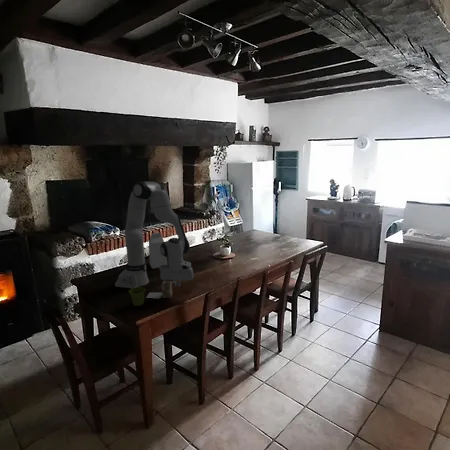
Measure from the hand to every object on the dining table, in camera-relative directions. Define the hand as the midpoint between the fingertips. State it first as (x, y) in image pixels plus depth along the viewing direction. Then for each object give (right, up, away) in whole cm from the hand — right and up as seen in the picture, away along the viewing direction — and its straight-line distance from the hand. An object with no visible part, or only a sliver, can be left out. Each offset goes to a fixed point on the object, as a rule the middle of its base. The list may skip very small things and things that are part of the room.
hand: (177, 286), depth 201 cm
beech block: (-7, -6, +2) cm, 9 cm away
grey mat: (-15, -7, +3) cm, 16 cm away
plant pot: (-22, -9, -7) cm, 25 cm away
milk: (-23, +6, +56) cm, 61 cm away
